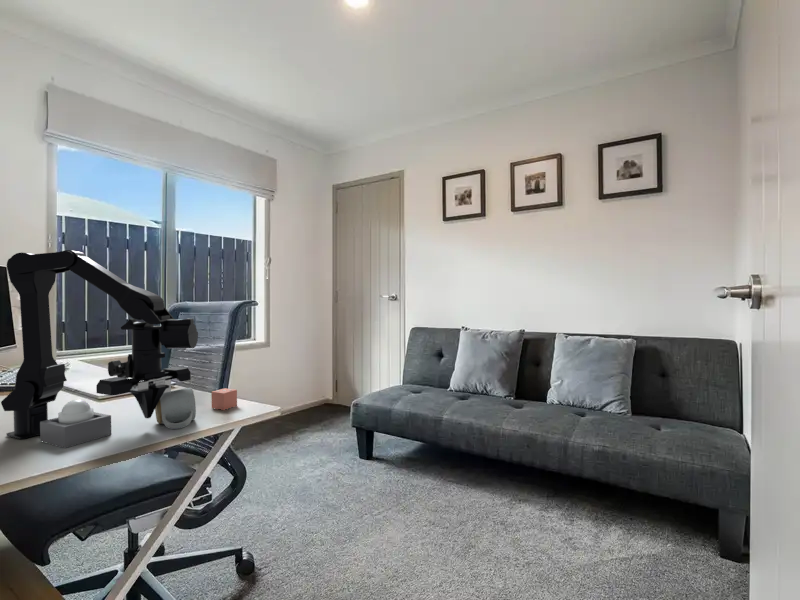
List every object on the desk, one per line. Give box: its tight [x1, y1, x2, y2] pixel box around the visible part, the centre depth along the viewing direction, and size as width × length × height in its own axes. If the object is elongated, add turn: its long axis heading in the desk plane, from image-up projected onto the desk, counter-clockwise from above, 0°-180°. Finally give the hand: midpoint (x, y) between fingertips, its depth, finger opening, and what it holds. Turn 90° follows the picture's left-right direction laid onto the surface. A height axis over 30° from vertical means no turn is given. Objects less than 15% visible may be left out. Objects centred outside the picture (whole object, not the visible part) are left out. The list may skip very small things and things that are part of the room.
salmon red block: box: [211, 387, 238, 411], centre depth 116 cm, size 4×4×5 cm
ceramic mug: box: [154, 387, 197, 430], centre depth 102 cm, size 11×8×8 cm
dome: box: [57, 398, 94, 425], centre depth 92 cm, size 6×6×5 cm
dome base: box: [39, 411, 112, 449], centre depth 92 cm, size 9×9×4 cm
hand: (147, 417), depth 97 cm, fingers closed
